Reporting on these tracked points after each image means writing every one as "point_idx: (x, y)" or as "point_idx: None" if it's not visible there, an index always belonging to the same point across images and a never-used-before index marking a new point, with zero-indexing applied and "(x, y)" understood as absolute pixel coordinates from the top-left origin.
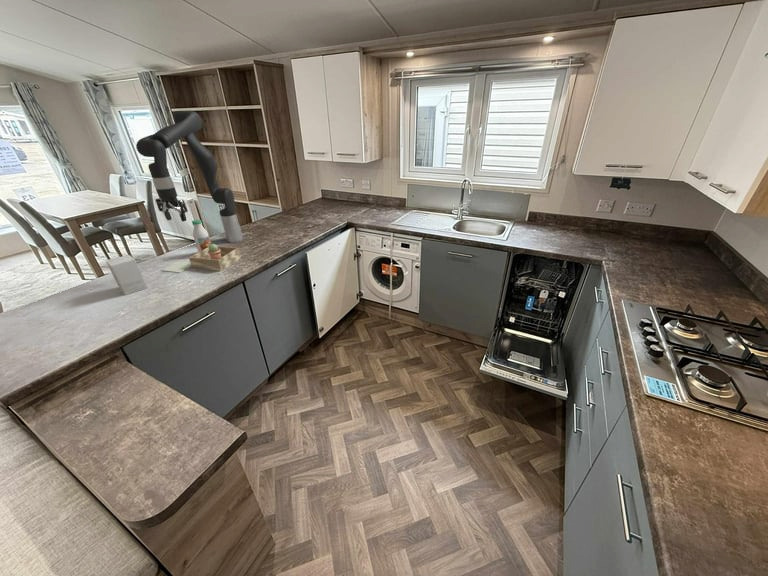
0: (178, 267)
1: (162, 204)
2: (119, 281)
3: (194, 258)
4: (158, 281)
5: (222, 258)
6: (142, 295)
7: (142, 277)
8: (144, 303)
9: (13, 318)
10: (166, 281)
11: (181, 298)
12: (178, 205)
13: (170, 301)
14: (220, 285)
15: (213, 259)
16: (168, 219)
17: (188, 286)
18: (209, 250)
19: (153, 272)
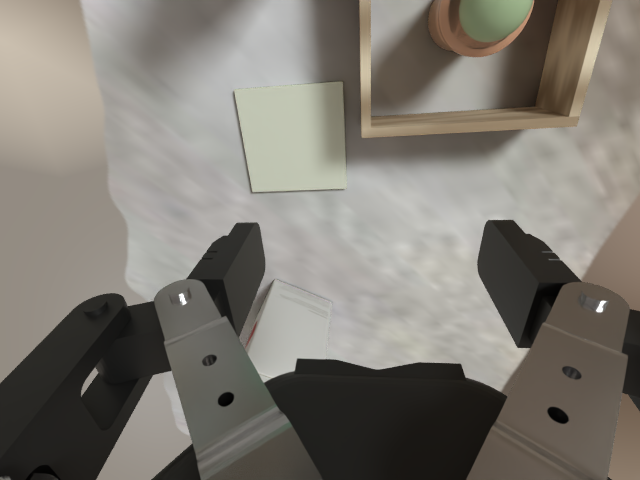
0: (301, 150)
1: (60, 421)
2: None
3: (399, 135)
4: (325, 261)
5: (587, 84)
6: (358, 335)
7: (328, 332)
8: (403, 362)
9: (184, 428)
10: (354, 256)
11: (497, 329)
12: (568, 421)
13: (473, 345)
14: (603, 238)
15: (535, 121)
16: (263, 269)
17: (469, 268)
18: (447, 16)
19: (235, 209)
